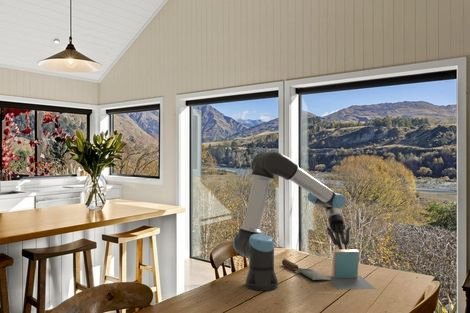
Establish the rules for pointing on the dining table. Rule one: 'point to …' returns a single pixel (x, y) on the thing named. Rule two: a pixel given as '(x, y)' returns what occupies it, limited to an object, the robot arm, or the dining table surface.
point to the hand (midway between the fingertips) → (344, 256)
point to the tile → (345, 263)
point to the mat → (350, 283)
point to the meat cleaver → (305, 271)
